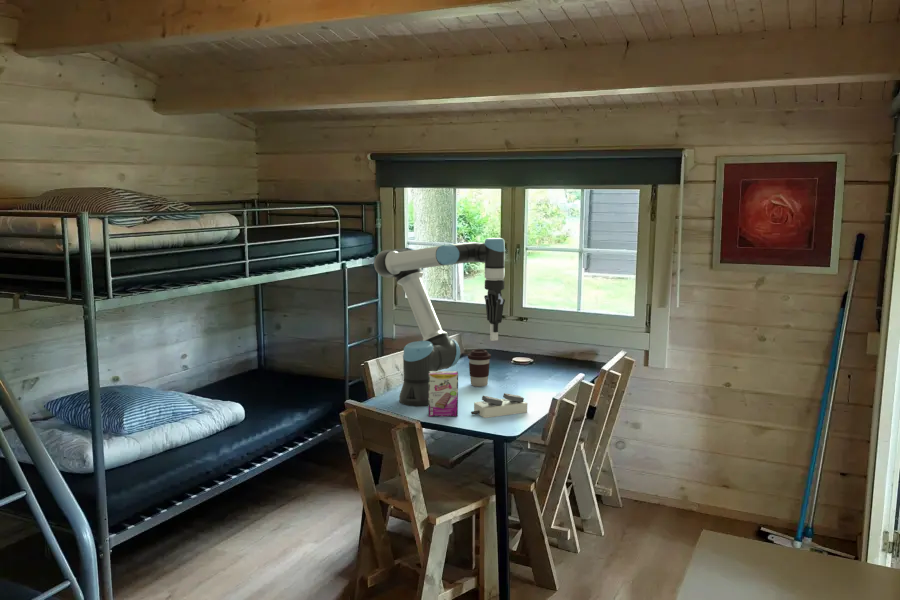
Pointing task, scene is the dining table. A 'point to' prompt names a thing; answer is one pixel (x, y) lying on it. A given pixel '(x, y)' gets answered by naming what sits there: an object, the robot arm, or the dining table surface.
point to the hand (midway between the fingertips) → (494, 340)
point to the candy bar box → (443, 393)
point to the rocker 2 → (513, 397)
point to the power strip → (499, 408)
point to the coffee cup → (479, 367)
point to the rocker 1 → (492, 400)
